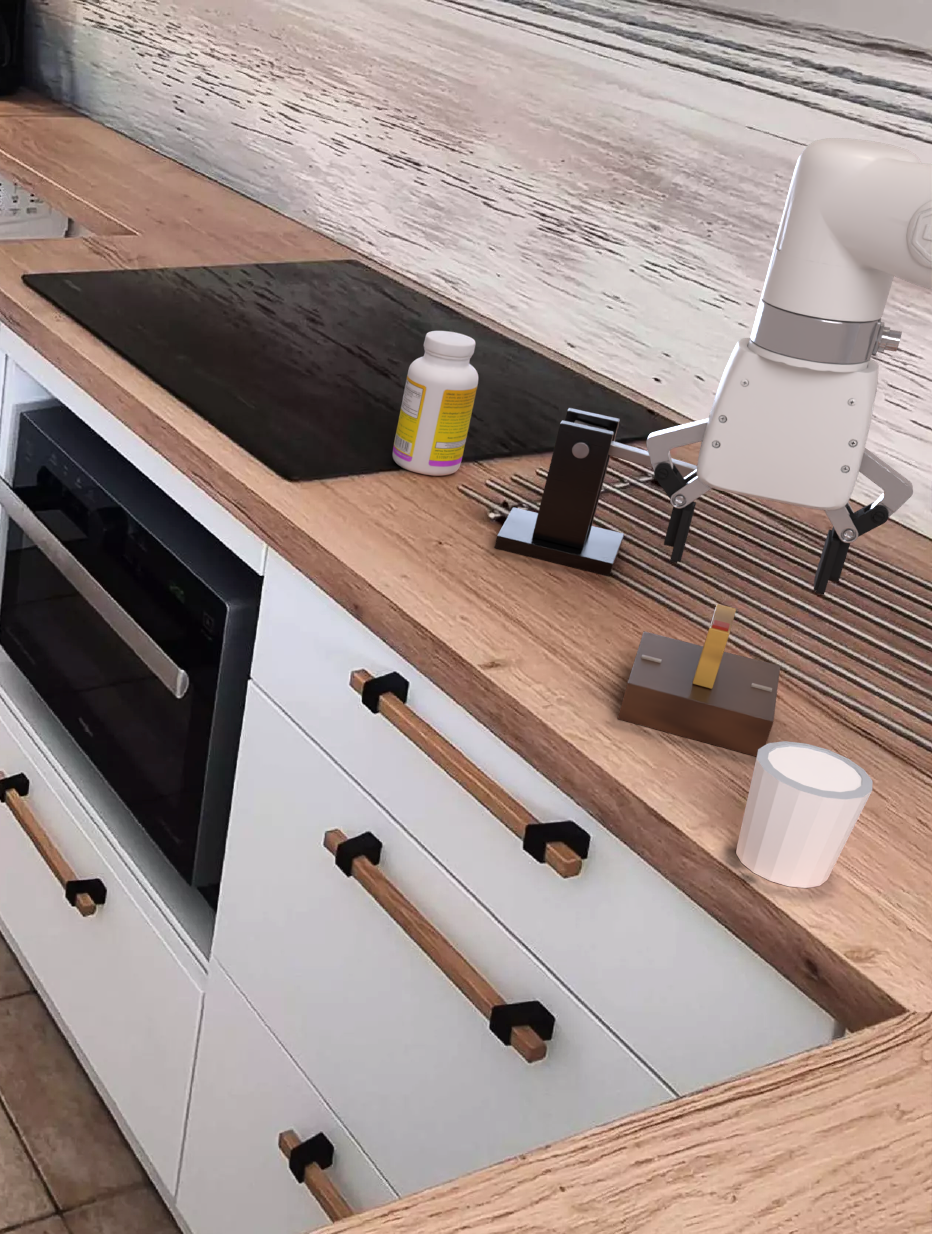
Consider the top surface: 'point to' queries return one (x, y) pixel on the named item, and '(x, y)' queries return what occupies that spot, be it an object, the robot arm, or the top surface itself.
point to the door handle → (641, 455)
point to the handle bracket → (569, 501)
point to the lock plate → (701, 695)
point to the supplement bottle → (437, 406)
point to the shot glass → (800, 812)
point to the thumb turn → (714, 646)
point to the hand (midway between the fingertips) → (746, 571)
